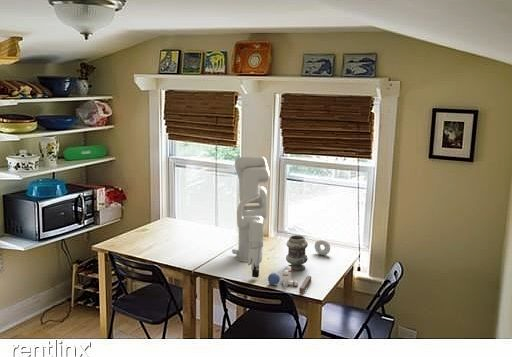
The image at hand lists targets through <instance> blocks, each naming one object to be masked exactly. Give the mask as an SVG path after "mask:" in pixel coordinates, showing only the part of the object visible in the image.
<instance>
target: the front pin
mask: <svg viewBox="0 0 512 357" xmlns="http://www.w3.org/2000/svg"><path fill="white" fill-rule="evenodd" d="M280 284H281V285H283V278H282V279H280ZM288 286H292V287H298V286H299V281H297V280H291V281H290V280H288Z"/></svg>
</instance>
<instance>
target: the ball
mask: <svg viewBox="0 0 512 357" xmlns="http://www.w3.org/2000/svg"><path fill="white" fill-rule="evenodd" d="M280 278H281V277H280V276H279V274H277V273H275V272H273V273H270V274H269V275H268V277H267V281H268V283H269V285H272V286H276V285H278V284H279V283H280V282H281V279H280Z"/></svg>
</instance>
